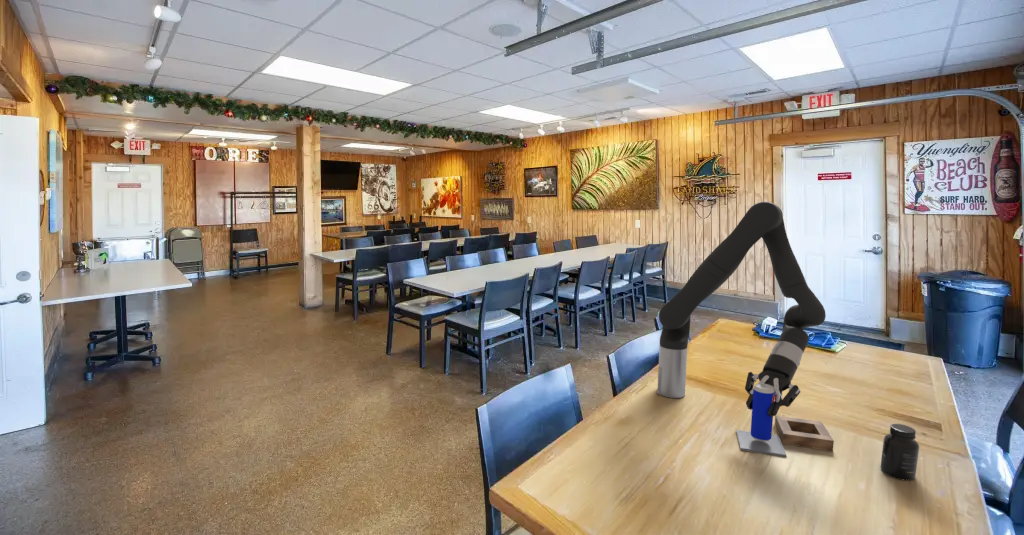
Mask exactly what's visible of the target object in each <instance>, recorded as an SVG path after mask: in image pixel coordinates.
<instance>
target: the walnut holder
mask: <svg viewBox="0 0 1024 535" xmlns="http://www.w3.org/2000/svg"><path fill="white" fill-rule="evenodd" d="M774 417H775V418H774V426H775V429H776V432H777V434H778V436H779V438H780V441H781V443H782V445H788V446H795V447H803V448H809V449H815V450H823V451H830V452H834V444H835V443H834V442H835V440H834V439H833V437H832V435H831V434H830V432H829V431H828V429H827V428H826V426H825V425H824V423H823V421H819V420H811V419H805V418H798V417H789V416H783V415H775V416H774Z"/></svg>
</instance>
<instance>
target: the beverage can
mask: <svg viewBox="0 0 1024 535" xmlns="http://www.w3.org/2000/svg"><path fill="white" fill-rule="evenodd" d="M774 395H775V391H774V387H773V386H771V385H768V384H763V383H759V382H757V383H754V386H753V404H752V410H751V420H750V421H751V422H750V432H751V436H752V437H753V438H754V439H756V440H758V441H763V442H766V441H769V440H770V439H771V436H772V435H773V421H774V420H773V419H774V416H773V417H770V416H769V415H768V411H769V409H770V406H771V404H772V402H774V401H775V400H774Z"/></svg>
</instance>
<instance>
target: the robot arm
mask: <svg viewBox="0 0 1024 535" xmlns="http://www.w3.org/2000/svg"><path fill="white" fill-rule="evenodd" d="M761 238H762V241H763V242H764V244H765V247H766V249H767V252H768V253H769V258H770V262H771V266H772V270H773V272H774V276H775V279H776V283H777V284H778V286H779V288H780V291H781V294H782V295H783V297H785V298H786V299H787V298H788V299H793V300H794V301H795V302H796V303H797V304H795V305H792V306H790V307H789V308H788V309H787V310H786V312H785V314H784V318H783V323H782V332H781V333H780V336H779V338H778V340H777V342H776V343H775V344H774V346H773V347H772V349H771V352H770V354H769V356H768V357H767V360H766V361H765V363H764V366H763V369H762V371H761V372H759V373H758V374H757V373H756V374H755V373H753V372H752V371H749V372H747V377H746V383H745V386H744V390H745V392H746V393H747V394H748V395H749V396H748V397H747V400H746V401H745V404H746V407H747V409H748V410H750V411H752V404H753V388H754V386H755V383H756V382H757V380H759V381H758V383H763V384H768V385H771V386H773V387H774V391H775V395H774V402H772V404H771V406H770V409H769V411H768V415H769V416H770V417H773V418H774V417H775V416H777V414H778V412H779V409H780V407H783V406H784V407H787V408H788V407H790V406H791V404H792V403H793V402H794V401H795V400H796V398H797V397H798V396H799V395H800V393H801V390H800V387H799V386H798V385H797V384H792V381H793V378H794V377H795V374H796V373H797V371H798V368H799V366H800V364H801V361H802V358H803V354H804V352H805V350H806V348H807V346H808V343H809V341H810V338H809V337H810V336H809V334H808V333H807V332H806V331H805V328H811V327H818V326H821V325H822V324H824V323H825V321H826V315H827V314H826V310H825V308H824V306H823V304H822V302H821V301H820V300H819V298H818V297H817V296H816V294H815V293H814V292H813V290H812V289H811V288H810V287H809V285H808V283H807V282H806V279H805V278H806V277H805V276H804V273H803V271H802V269H801V267H800V264H799V263H798V260H797V258H796V256H795V254H794V251H793V249H792V246H791V243H790V241H789V238H788V235H787V230H786V226H785V222H784V215H783V211H782V209H781V208H780V207H779V206H778V205H777V204H775V203H773V202H770V201H760V202H757V203H754V204H753V205H752V206H750V208H748V210H747V211H746V213H745V214H744V215H743V217H742V219H741V220H740V221H739V223H737V225H736V226H735V228H734V229H733V231H731V233H730V234H729V235H728V236H727V237H725V239H723V240H722V241H721V242H720V243H719V244H718V245H717V246H716V247H715V249H714V250H713V251H711V252H710V254H708V255H707V256H706V258H705V259H704V260H703V261H702V262H701V263H700V264H699V266H698V267H697V268H696V270H695V271H694V272H693V274H692V275H691V276H690V277H689V279H688V280H687V282H686V283H685V284H684V285H683V287H682V288H681V289H680V290H679V291H678V292H677V294H675V295H674V296H673V297H672V298H670V300H668V301H667V302H665V303H664V304H663V305H662V306H661V308H660V309H659V313H658V320H659V322H660V324H661V326H662V329H661V334H660V337H659V351H658V352H659V354H658V368H657V369H658V370H657V393H656V394H657V395H659V396H663V397H666V398H671V399H680V398H683V397H686V385H687V384H686V382H687V362H688V346H689V345H688V343H689V339H690V332H691V331H690V328H691V315H692V314H693V312H694V311H695V310H696V309H697V307H698V306H699V305H700V304H701V303H702V302H703V301H704V300H706V299H707V298H708V297H710V296H711V295H712V294H713V293H714V292H716V290H718V289H719V288H720V287H721V286H722V285H723V284H724V283H725V282H726V281H728V279H730V277H731V276H732V275H733V274H734V272H735V271H736V270H737V269H738V268H739V267H740V264H741V263H742V262H743V260H744V258H745V257H746V256H747V254H748V252H749V250H751V248H752V247H754V245H755V244H756V243H757V242H758V241H759V240H761ZM786 390H788V391H787V393H786V394H785V395H784V397H783V392H784V391H786Z"/></svg>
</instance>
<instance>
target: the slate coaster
mask: <svg viewBox="0 0 1024 535" xmlns="http://www.w3.org/2000/svg"><path fill="white" fill-rule="evenodd" d="M735 433H736V436H737V441H738V445H739V450H740V451H744V452H745V451H746V452H752V453H757V454H765V455H771V456H776V457H777V456H778V457H782V458H783V457H785V458H787V453H786V451H785V448H784V444H783V443H782V441H781V439H780V436H779V435H776V434H772V436H771V439H770V440H769V441H766V442H763V441H758V440H756V439H754V438H753V437H752V436H751V431H748V430H740V429H736V430H735Z"/></svg>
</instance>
